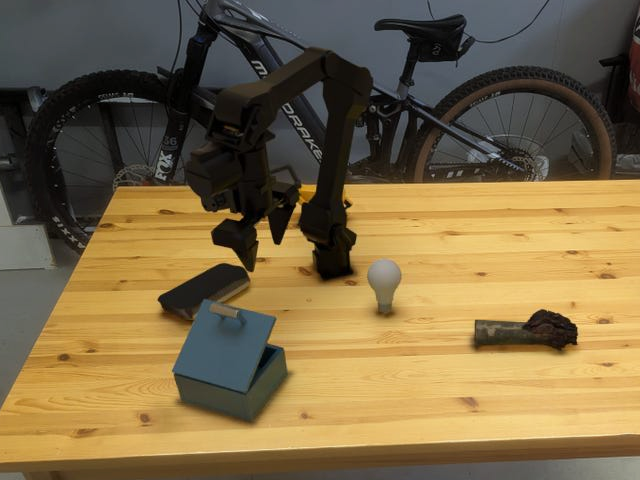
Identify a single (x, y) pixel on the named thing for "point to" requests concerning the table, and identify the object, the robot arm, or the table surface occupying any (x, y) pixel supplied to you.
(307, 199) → the robot dog
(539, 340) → the mossy log
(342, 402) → the table surface
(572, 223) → the table surface
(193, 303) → the black sponge
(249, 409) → the compartment
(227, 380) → the blue-grey box lid
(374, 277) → the lightbulb
